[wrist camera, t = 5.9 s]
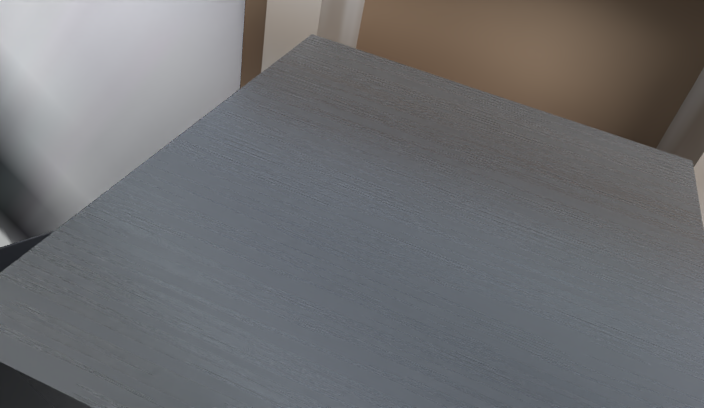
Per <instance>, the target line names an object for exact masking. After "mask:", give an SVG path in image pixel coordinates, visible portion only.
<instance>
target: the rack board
mask: <svg viewBox="0 0 704 408" xmlns="http://www.w3.org/2000/svg"><path fill="white" fill-rule="evenodd" d="M311 34H313V35H316V36H319V37H322V38H325V39H328V40H331V41H334V42H337V43H340V44H343V45H346V46H349V47H352V48H355V49H358V50H361V51H364V52H367V53H370V54H373V55H376V56H379V57H382V58H385V59H388V60H391V61H394V62H397V63H400V64H403V65H406V66H409V67H412V68H415V69H418V70H421V71H424V72H427V73H430V74H433V75H436V76H439V77H442V78H445V79H448V80H451V81H454V82H457V83H460V84H463V85H466V86H469V87H472V88H475V89H478V90H481V91H484V92H487V93H490V94H493V95H496V96H499V97H502V98H505V99H508V100H511V101H514V102H517V103H520V104H523V105H526V106H529V107H532V108H535V109H538V110H541V111H544V112H547V113H550V114H553V115H556V116H559V117H562V118H565V119H568V120H571V121H574V122H577V123H580V124H583V125H586V126H589V127H592V128H595V129H598V130H601V131H604V132H607V133H610V134H613V135H616V136H619V137H622V138H625V139H628V140H631V141H634V142H637V143H640V144H643V145H646V146H649V147H652V148H655V149H658V150H661V151H664V152H667V153H670V154H673V155H676V156H679V157H682V158H685V159H688V160H691V161H693V167H694V173H695V179H696V185H697V191H698V197H699V204H700V210H701V216H702V222H703V228H704V0H245V17H244V33H243V49H242V66H241V82H240V89H241V88H242V87H243V86H245V85H246V84H247V83H249V82H250V81H251V80H252V79H254V78H255V77H256V76H258V75H259V74H260V73H262V72H263V71H264V70H265V69H267V68H268V67H269V66H271V65H272V64H273V63H275V62H276V61H277V60H279V59H280V58H281V57H282V56H284V55H285V54H286V53H288V52H289V51H290V50H292V49H293V48H294V47H296V46H297V45H298V44H299V43H301V42H302V41H303V40H305V39H306V38H307V37H309V36H310V35H311Z"/></svg>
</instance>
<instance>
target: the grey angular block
mask: <svg viewBox="0 0 704 408" xmlns="http://www.w3.org/2000/svg"><path fill="white" fill-rule="evenodd" d="M0 408H704V228H703V222H702V216H701V210H700V204H699V197H698V191H697V185H696V179H695V173H694V167H693V161H691V160H688V159H685V158H682V157H679V156H676V155H673V154H670V153H667V152H664V151H661V150H658V149H655V148H652V147H649V146H646V145H643V144H640V143H637V142H634V141H631V140H628V139H625V138H622V137H619V136H616V135H613V134H610V133H607V132H604V131H601V130H598V129H595V128H592V127H589V126H586V125H583V124H580V123H577V122H574V121H571V120H568V119H565V118H562V117H559V116H556V115H553V114H550V113H547V112H544V111H541V110H538V109H535V108H532V107H529V106H526V105H523V104H520V103H517V102H514V101H511V100H508V99H505V98H502V97H499V96H496V95H493V94H490V93H487V92H484V91H481V90H478V89H475V88H472V87H469V86H466V85H463V84H460V83H457V82H454V81H451V80H448V79H445V78H442V77H439V76H436V75H433V74H430V73H427V72H424V71H421V70H418V69H415V68H412V67H409V66H406V65H403V64H400V63H397V62H394V61H391V60H388V59H385V58H382V57H379V56H376V55H373V54H370V53H367V52H364V51H361V50H358V49H355V48H352V47H349V46H346V45H343V44H340V43H337V42H334V41H331V40H328V39H325V38H322V37H319V36H316V35H313V34H311V35H310V36H309V37H307V38H306V39H305V40H303V41H302V42H301V43H299V44H298V45H297V46H296V47H294V48H293V49H292V50H290V51H289V52H288V53H286V54H285V55H284V56H282V57H281V58H280V59H279V60H277V61H276V62H275V63H273V64H272V65H271V66H269V67H268V68H267V69H265V70H264V71H263V72H262V73H260V74H259V75H258V76H256V77H255V78H254V79H252V80H251V81H250V82H249V83H247V84H246V85H245V86H243V87H242V88H241V89H239V90H238V91H237V92H235V93H234V94H233V95H232V96H230V97H229V98H228V99H226V100H225V101H224V102H222V103H221V104H220V105H219V106H217V107H216V108H215V109H213V110H212V111H211V112H209V113H208V114H207V115H205V116H204V117H203V118H202V119H200V120H199V121H198V122H196V123H195V124H194V125H192V126H191V127H190V128H188V129H187V130H186V131H185V132H183V133H182V134H181V135H179V136H178V137H177V138H175V139H174V140H173V141H172V142H170V143H169V144H168V145H166V146H165V147H164V148H162V149H161V150H160V151H158V152H157V153H156V154H155V155H153V156H152V157H151V158H149V159H148V160H147V161H145V162H144V163H143V164H141V165H140V166H139V167H138V168H136V169H135V170H134V171H132V172H131V173H130V174H128V175H127V176H126V177H125V178H123V179H122V180H121V181H119V182H118V183H117V184H115V185H114V186H113V187H111V188H110V189H109V190H108V191H106V192H105V193H104V194H102V195H101V196H100V197H98V198H97V199H96V200H94V201H93V202H92V203H91V204H89V205H88V206H87V207H85V208H84V209H83V210H81V211H80V212H79V213H78V214H76V215H75V216H74V217H72V218H71V219H70V220H68V221H67V222H66V223H64V224H63V225H62V226H61V227H59V228H58V229H57V230H55V231H54V232H53V233H51V234H50V235H49V236H48V237H46V238H45V239H44V240H42V241H41V242H40V243H38V244H37V245H36V246H34V247H33V248H32V249H31V250H29V251H28V252H27V253H25V254H24V255H23V256H21V257H20V258H19V259H17V260H16V261H15V262H14V263H12V264H11V265H10V266H8V267H7V268H6V269H4V270H3V271H2V272H1V273H0Z"/></svg>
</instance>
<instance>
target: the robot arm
mask: <svg viewBox="0 0 704 408" xmlns="http://www.w3.org/2000/svg"><path fill="white" fill-rule="evenodd" d="M54 231H55V230H54ZM54 231H51V232H47V233H44V234H41V235H38V236H35V237H32V238H29V239H26V240H22V241H19V242H16V243H13V244H10V245H7V246H4V247H0V273H1V272H2V271H3V270H4V269H6V268H7V267H8V266H10V265H11V264H12V263H14V262H15V261H16V260H17V259H19V258H20V257H21V256H23V255H24V254H25V253H27V252H28V251H29V250H31V249H32V248H33V247H34V246H36V245H37V244H38V243H40V242H41V241H42V240H44V239H45V238H46V237H48V236H49V235H50V234H51V233H53V232H54Z"/></svg>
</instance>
